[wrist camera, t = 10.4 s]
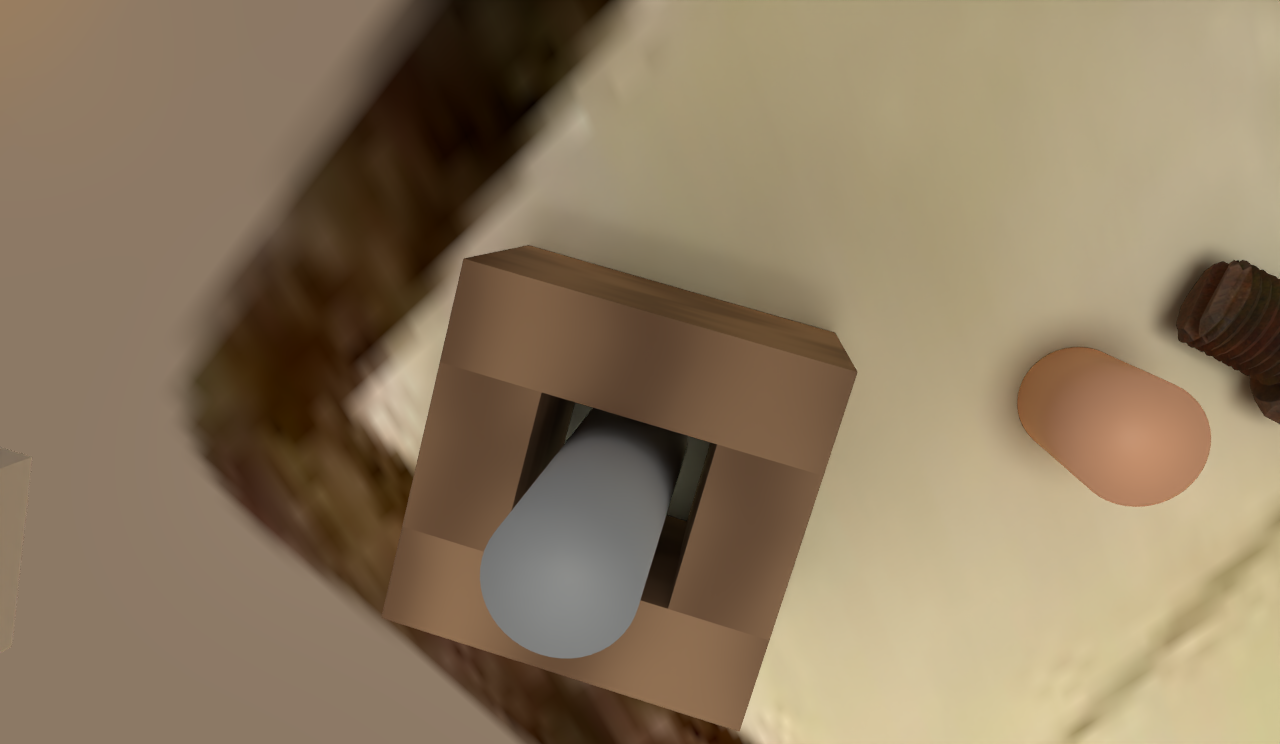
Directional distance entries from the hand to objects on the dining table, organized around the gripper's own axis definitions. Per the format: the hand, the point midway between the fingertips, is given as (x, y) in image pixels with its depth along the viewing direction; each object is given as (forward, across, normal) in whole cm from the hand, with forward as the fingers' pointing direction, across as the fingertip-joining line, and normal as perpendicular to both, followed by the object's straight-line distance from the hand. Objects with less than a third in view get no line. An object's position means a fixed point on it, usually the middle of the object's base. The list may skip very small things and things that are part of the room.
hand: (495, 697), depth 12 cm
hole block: (+25, -1, -4) cm, 25 cm away
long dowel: (+25, -1, -4) cm, 25 cm away
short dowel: (+25, +14, +2) cm, 29 cm away
